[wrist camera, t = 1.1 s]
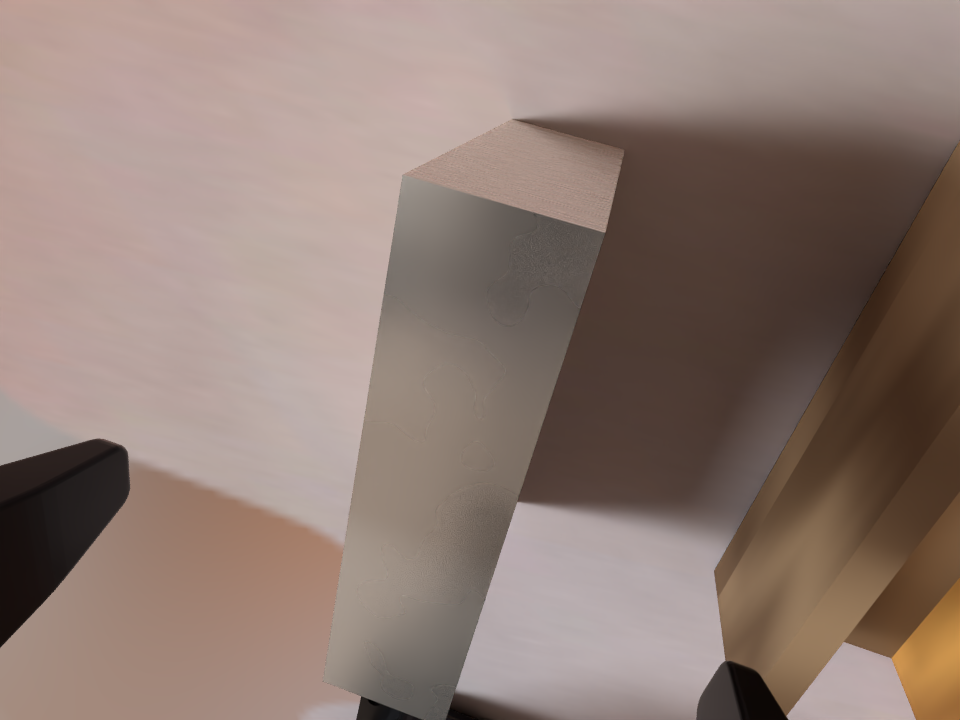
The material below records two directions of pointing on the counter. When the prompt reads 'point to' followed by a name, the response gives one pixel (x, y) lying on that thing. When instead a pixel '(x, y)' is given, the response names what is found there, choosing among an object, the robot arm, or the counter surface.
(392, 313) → the aluminium panel
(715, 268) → the counter surface
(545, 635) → the counter surface
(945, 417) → the walnut rack
